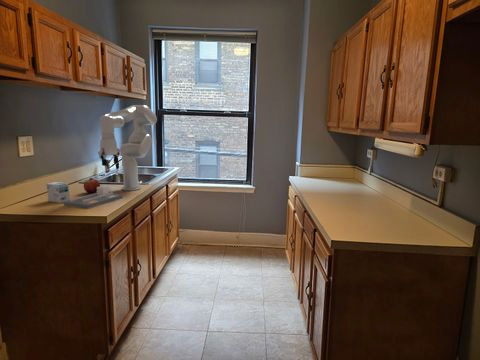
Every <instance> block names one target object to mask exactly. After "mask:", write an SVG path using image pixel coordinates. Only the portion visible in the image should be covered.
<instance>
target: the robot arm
mask: <svg viewBox="0 0 480 360" xmlns="http://www.w3.org/2000/svg"><path fill="white" fill-rule="evenodd" d="M131 121H132V122H133V126H134V130H133V131H132V133H131V135H130V136H129V138H128V142H127V143H123V144H122V145H121V146H120V148H118V144H117V140H116V134H115V129H119V128H120V129H121V128H123V127H124V125H125V123H129V122H131ZM157 121H158V118H157V115H156V113H155V112H154V111H153V110H152V109H151V108H150V107H149V106H148V105H145V104H133V105H130V106H128V107H125V108H124V109H120V110H115V111H112V112H108V113H106V114H104V115H102V116H100V118H99V122H100V124H99V125H100V135H101V139H100V143H99V151H97V154H98V156H99V157H98V158H100V160H101V166H105V167H106V166H107V165H108V163H107V159H106V158H107V157H108V156H113V157H112V158H113V164H117V165H118V164H119V156H121V160H122V176H123V186H122V187H121V190H123V191H127V192H128V191H138V190H141V189H142V187H141V185H142V184H143V181H142V180H141V181H139V171H138V162H137V160H136V159H137V158H139V159H140V158H141V159H142V158H144V157H146V155H147V153H148V152H149V150H150V148H151V146H152V144H153V143H152V142H153V139H152V136H151V134H148V133H147V131H146V129H145V127H144V126H153V125H156V123H157Z"/></svg>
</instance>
